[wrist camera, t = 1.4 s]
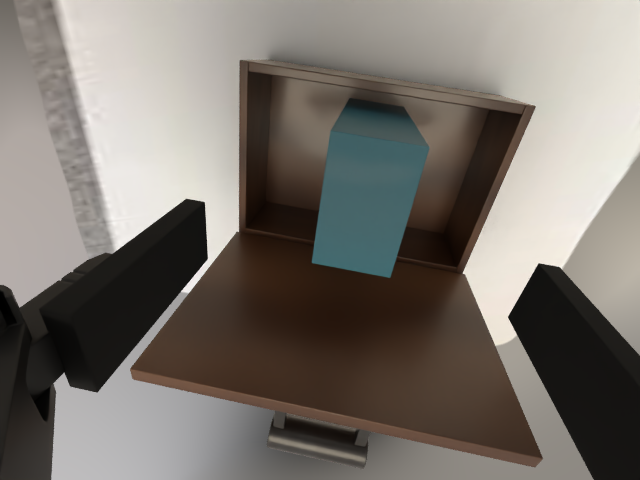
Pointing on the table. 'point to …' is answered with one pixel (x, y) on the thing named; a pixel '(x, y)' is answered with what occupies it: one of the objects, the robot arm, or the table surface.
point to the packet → (368, 187)
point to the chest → (312, 145)
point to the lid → (342, 355)
